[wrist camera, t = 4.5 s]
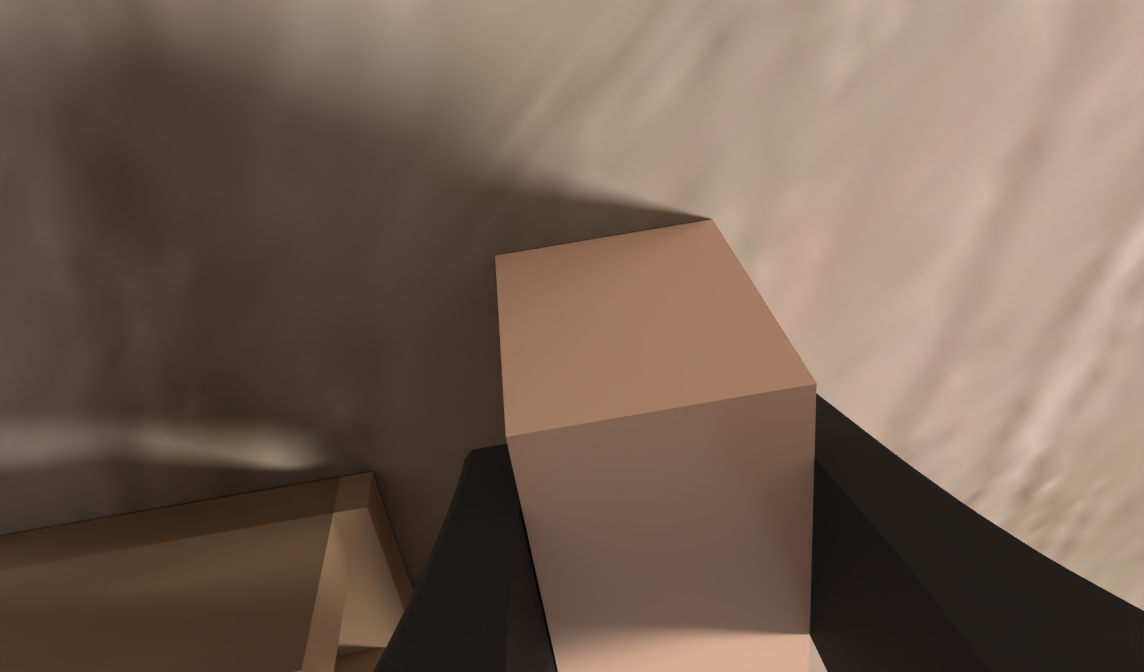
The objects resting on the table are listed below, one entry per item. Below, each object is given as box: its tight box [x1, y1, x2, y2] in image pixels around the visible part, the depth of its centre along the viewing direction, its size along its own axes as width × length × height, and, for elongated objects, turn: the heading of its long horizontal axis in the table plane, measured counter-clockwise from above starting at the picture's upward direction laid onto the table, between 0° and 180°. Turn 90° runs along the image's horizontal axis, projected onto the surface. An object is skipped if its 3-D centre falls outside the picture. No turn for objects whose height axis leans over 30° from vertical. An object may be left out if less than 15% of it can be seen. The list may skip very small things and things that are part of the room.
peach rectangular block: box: [495, 219, 816, 672], centre depth 12 cm, size 10×3×4 cm, turn 8°
